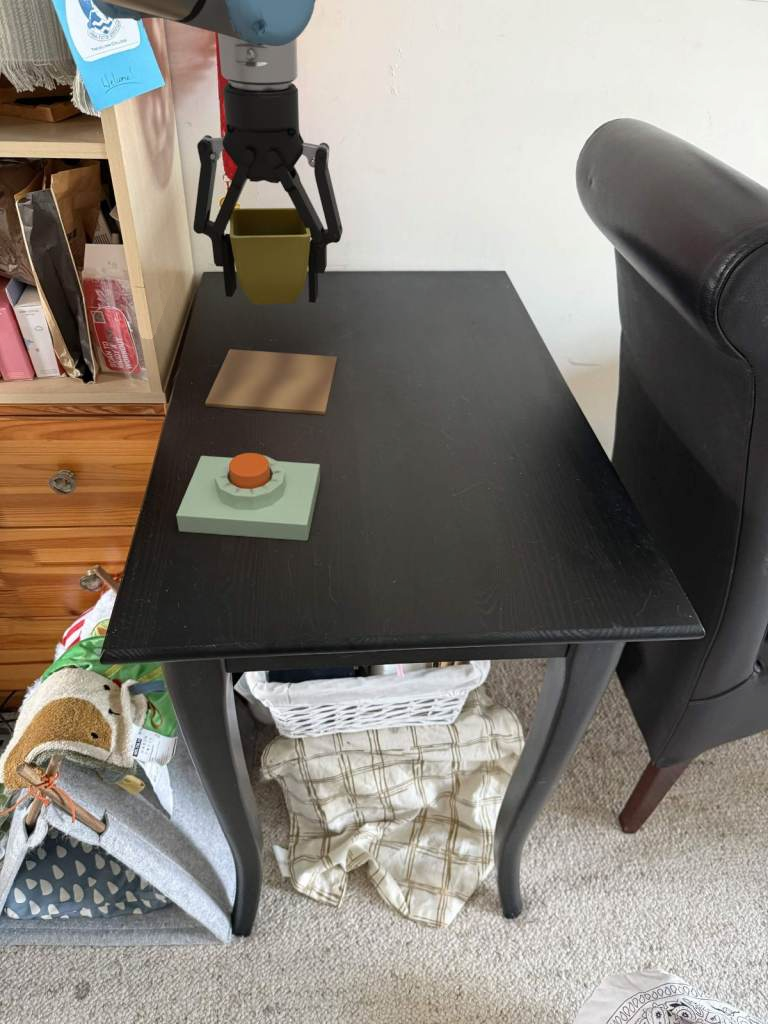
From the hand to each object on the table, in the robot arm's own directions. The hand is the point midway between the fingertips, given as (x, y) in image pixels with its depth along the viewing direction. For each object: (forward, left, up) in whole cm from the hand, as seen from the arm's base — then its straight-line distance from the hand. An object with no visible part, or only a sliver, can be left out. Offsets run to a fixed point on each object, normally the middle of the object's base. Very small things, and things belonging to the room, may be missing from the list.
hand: (272, 294), depth 88 cm
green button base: (+2, -25, -12) cm, 28 cm away
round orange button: (+2, -25, -9) cm, 26 cm away
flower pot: (0, 0, 0) cm, 0 cm away
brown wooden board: (0, 0, -12) cm, 12 cm away
